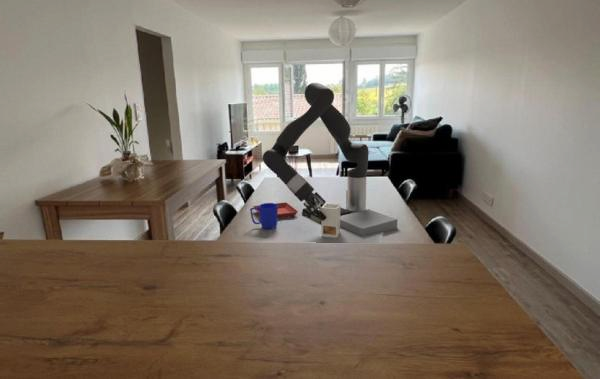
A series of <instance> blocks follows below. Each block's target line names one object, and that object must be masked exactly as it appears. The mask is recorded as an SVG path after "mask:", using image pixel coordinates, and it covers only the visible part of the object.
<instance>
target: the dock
mask: <svg viewBox="0 0 600 379" xmlns="http://www.w3.org/2000/svg"><path fill="white" fill-rule="evenodd" d="M340 228H344V229H346V230H348V231H349V232H352V233H355V234H357V235H358V236H362V237H364V236H368V235H370V234H375V233H377V232H381V231H382V233H384V232H388V231H392V230H395V229H398V218H395V217H392V216H390V215H386V214H383V213H380V212H378V211H374V210H372V209H366V210H364V211H359V212H351V214H347V215H343V216H340Z"/></svg>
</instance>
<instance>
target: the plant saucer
mask: <svg viewBox="0 0 600 379" xmlns="http://www.w3.org/2000/svg"><path fill="white" fill-rule="evenodd" d="M275 204H277V205H278V212H277V220H278V219H279V220H280V219H286V218H292V217H295V216H296V215H297V214H298V213H299V211H298V210H297V209H296V208H295V207H294V206H292V205H291V204H289V203H288V202H278V203H277V202H276V203H275ZM259 205H260V204H258V205H253V206H252V208H255V207H259ZM254 210H255V211H256V213H258V214H259V210H257V209H254Z"/></svg>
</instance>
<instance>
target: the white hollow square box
mask: <svg viewBox="0 0 600 379" xmlns="http://www.w3.org/2000/svg"><path fill="white" fill-rule="evenodd" d="M340 207H341V204H340V203H338V204H337V203H326V202H325V204H324V205H323V206H322V208H321V212H322V213H323V214H324V215H325V216H326V217H327V218H326V219H325V220H324V221H322V220H321V237H327V238H334V239H335V238H338V237H339V235H340V233H341V226H340ZM325 226H332V227H336V235H335V234H325Z"/></svg>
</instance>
